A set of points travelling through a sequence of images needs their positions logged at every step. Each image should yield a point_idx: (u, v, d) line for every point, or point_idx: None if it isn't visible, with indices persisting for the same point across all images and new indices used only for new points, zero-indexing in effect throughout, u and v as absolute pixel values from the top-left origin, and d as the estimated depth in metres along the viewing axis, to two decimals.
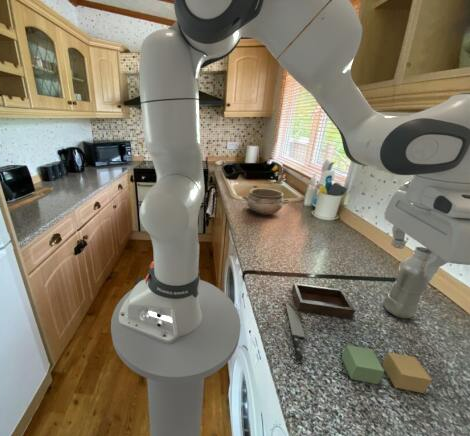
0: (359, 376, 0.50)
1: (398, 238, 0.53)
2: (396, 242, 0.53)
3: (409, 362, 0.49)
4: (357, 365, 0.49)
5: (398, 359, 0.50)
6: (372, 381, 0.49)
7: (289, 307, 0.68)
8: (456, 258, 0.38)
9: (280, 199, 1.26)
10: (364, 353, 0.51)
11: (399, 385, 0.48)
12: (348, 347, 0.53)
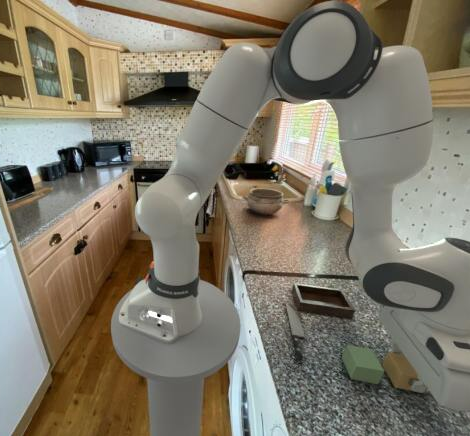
0: (359, 376, 0.50)
1: (397, 351, 0.52)
2: None
3: None
4: (357, 365, 0.49)
5: (398, 359, 0.50)
6: (372, 381, 0.49)
7: (289, 307, 0.68)
8: (448, 405, 0.39)
9: (280, 199, 1.26)
10: (364, 353, 0.51)
11: (399, 385, 0.48)
12: (348, 347, 0.53)
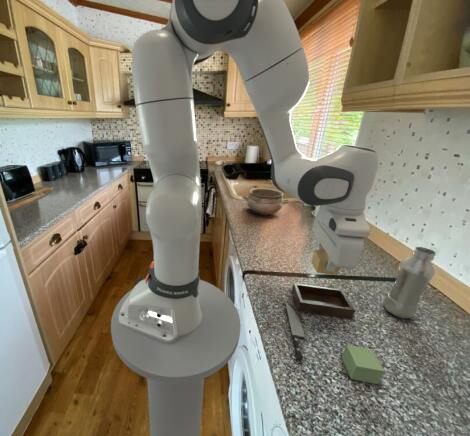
0: (359, 376, 0.50)
1: (321, 250, 0.66)
2: None
3: None
4: (357, 365, 0.49)
5: (320, 253, 0.64)
6: (372, 381, 0.49)
7: (289, 307, 0.68)
8: (340, 264, 0.53)
9: (280, 199, 1.26)
10: (364, 353, 0.51)
11: (319, 270, 0.63)
12: (348, 347, 0.53)
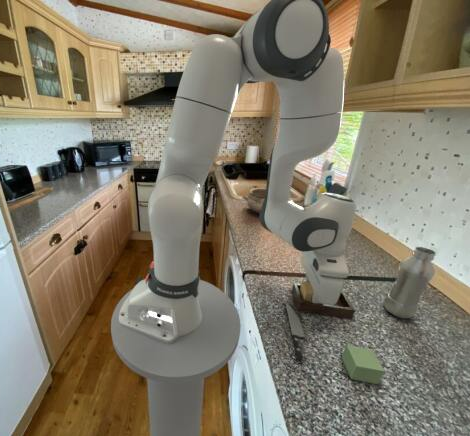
0: (359, 376, 0.50)
1: (309, 281, 0.72)
2: None
3: None
4: (357, 365, 0.49)
5: (307, 284, 0.70)
6: (372, 381, 0.49)
7: (289, 307, 0.68)
8: (322, 301, 0.59)
9: None
10: (364, 353, 0.51)
11: None
12: (348, 347, 0.53)
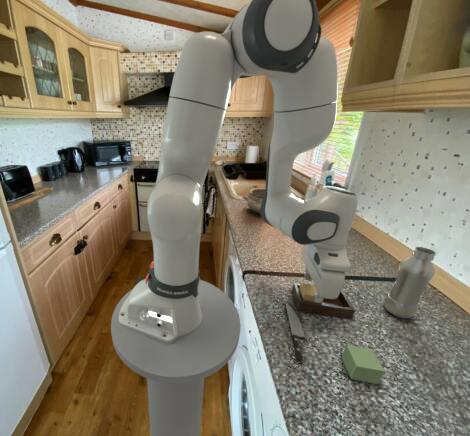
0: (359, 376, 0.50)
1: (308, 273, 0.73)
2: (306, 276, 0.72)
3: (312, 288, 0.70)
4: (357, 365, 0.49)
5: (306, 286, 0.70)
6: (372, 381, 0.49)
7: (289, 307, 0.68)
8: (323, 295, 0.58)
9: None
10: (364, 353, 0.51)
11: None
12: (348, 347, 0.53)
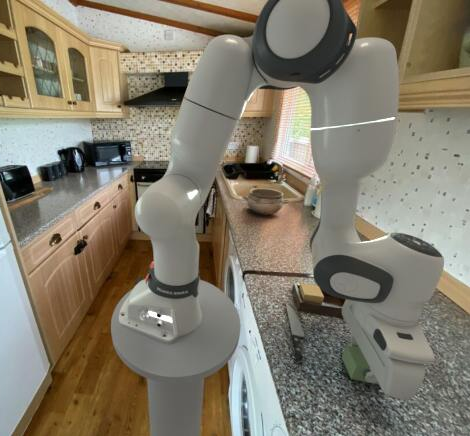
0: (359, 376, 0.50)
1: (355, 344, 0.54)
2: None
3: (312, 288, 0.70)
4: (357, 365, 0.49)
5: (306, 286, 0.70)
6: None
7: (289, 307, 0.68)
8: (391, 394, 0.40)
9: (280, 199, 1.26)
10: None
11: None
12: (348, 347, 0.53)
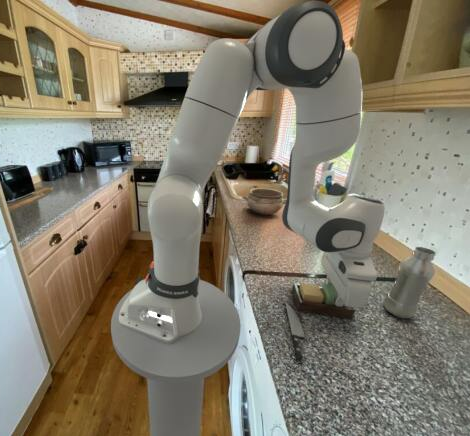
0: (331, 303, 0.67)
1: (330, 283, 0.71)
2: None
3: (312, 288, 0.70)
4: (330, 294, 0.66)
5: (306, 286, 0.70)
6: None
7: (289, 307, 0.68)
8: (349, 304, 0.57)
9: (280, 199, 1.26)
10: None
11: None
12: (324, 284, 0.70)
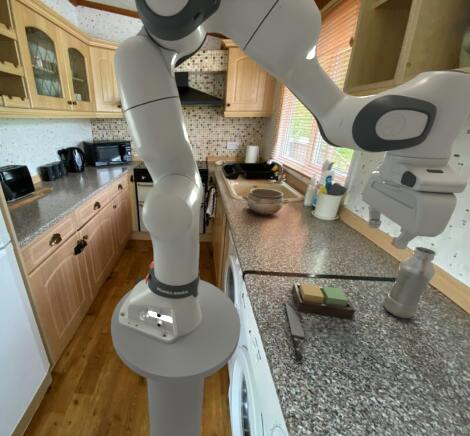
0: None
1: (374, 218, 0.55)
2: (372, 222, 0.54)
3: (312, 288, 0.70)
4: (329, 297, 0.66)
5: (306, 286, 0.70)
6: None
7: (289, 307, 0.68)
8: (420, 230, 0.40)
9: (280, 199, 1.26)
10: (335, 290, 0.69)
11: None
12: (323, 287, 0.70)
